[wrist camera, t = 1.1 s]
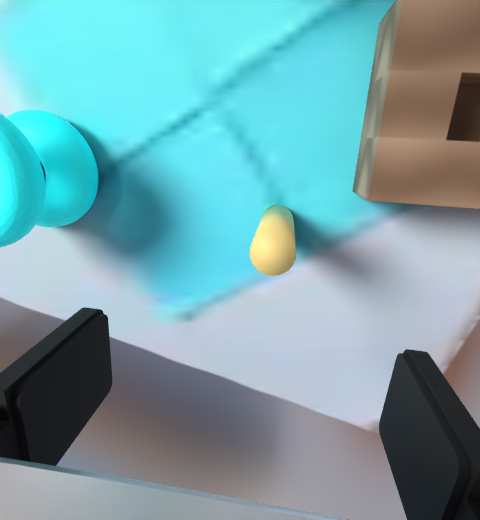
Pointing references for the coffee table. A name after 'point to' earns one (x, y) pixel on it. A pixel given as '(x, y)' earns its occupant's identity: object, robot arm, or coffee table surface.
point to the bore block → (424, 107)
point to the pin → (274, 242)
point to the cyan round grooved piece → (32, 178)
